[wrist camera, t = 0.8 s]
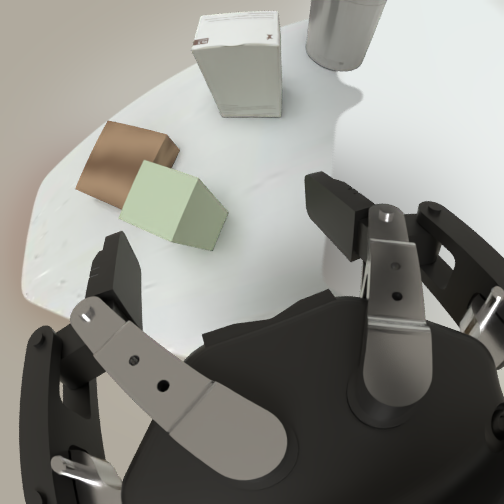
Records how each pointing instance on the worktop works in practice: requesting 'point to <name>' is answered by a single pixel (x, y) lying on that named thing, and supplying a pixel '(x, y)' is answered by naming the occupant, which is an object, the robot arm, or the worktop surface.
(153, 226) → the sage block
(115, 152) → the walnut riser block
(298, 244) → the worktop surface
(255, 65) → the skincare box
